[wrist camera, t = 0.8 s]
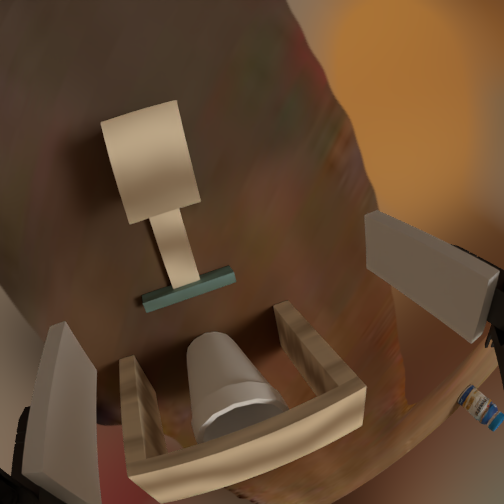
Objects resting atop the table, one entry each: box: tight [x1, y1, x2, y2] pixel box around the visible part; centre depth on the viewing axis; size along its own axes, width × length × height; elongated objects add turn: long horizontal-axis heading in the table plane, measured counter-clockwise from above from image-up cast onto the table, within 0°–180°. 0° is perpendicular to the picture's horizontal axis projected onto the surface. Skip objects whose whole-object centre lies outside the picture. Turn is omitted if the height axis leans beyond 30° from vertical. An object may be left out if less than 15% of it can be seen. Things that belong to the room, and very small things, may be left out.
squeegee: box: [101, 100, 236, 313], centre depth 26 cm, size 18×10×10 cm, turn 12°
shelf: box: [119, 300, 366, 504], centre depth 31 cm, size 7×22×16 cm, turn 102°
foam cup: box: [187, 332, 289, 444], centre depth 32 cm, size 10×9×13 cm
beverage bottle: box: [458, 385, 504, 431], centre depth 76 cm, size 8×8×20 cm
